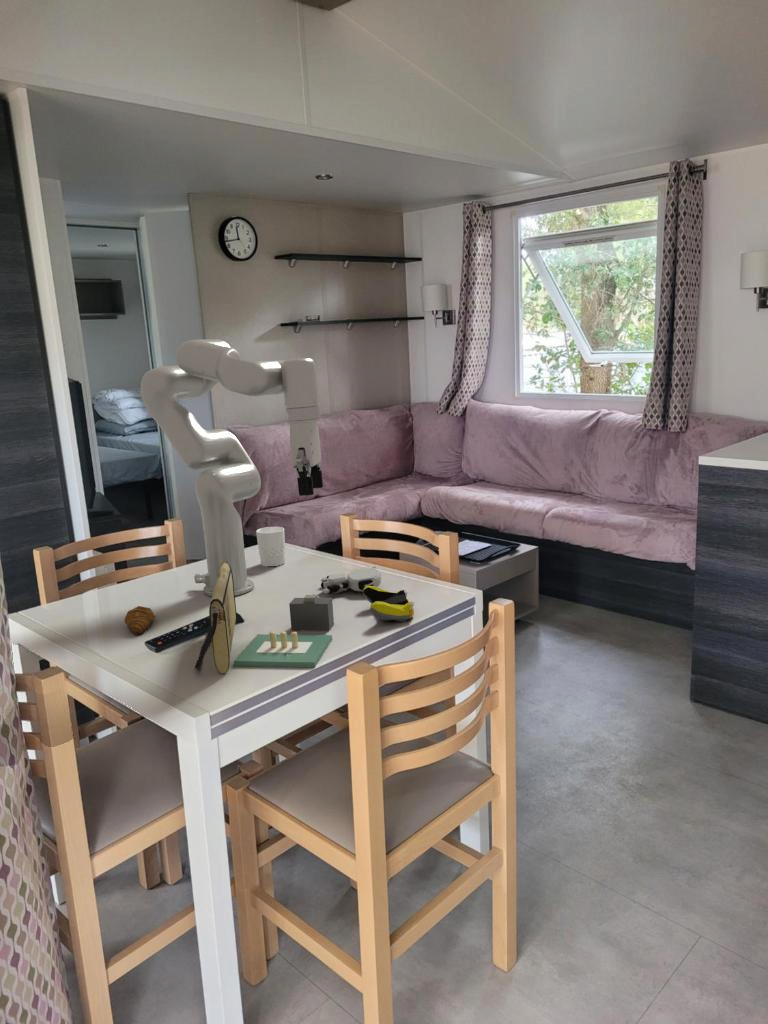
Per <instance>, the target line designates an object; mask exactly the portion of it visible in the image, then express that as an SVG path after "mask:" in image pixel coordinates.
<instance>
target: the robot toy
mask: <svg viewBox="0 0 768 1024" xmlns="http://www.w3.org/2000/svg"><path fill="white" fill-rule="evenodd" d="M320 581H321V583H320V587H321V589H322V590H321V593H323V594H329V595H331V594H333V595H334V594H336V593H337V594H340V593H342V592H346V591H348V589H349V588H350V589H351V590H353V591H355V592H361V593H363V589H364V588H365V587H366V586H375V587H378V588H379V587H380V585H381V583H382V575H381V572H380V571H379V570H378V569H377V566H376V565H374V566H372V567H368V566H367V567H364V568H363V567H362V568H357V569H353V570H351V571H350V572H349V573H348V574H347V575H346V573H338V574H337V573H336V574H331V575H327V576H326V577H322V578H321V579H320Z"/></svg>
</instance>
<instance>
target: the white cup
mask: <svg viewBox="0 0 768 1024" xmlns="http://www.w3.org/2000/svg"><path fill="white" fill-rule="evenodd" d="M255 533H256V541H257V547H258V555H259V558H260V565H261V566H262V565H263V566H262V567H264V566H276V567H279V566H278V565H280V566H282V565H281V564H283V565H284V564H286V540H285V528H284V527H282V526H267V527H261V528H258V529H257V530H256V531H255Z"/></svg>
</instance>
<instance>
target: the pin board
mask: <svg viewBox="0 0 768 1024" xmlns="http://www.w3.org/2000/svg"><path fill="white" fill-rule="evenodd" d="M276 633H277V632H276V631H270V632H269V634H267V633H266V634H264V633H263V634H261V633H257V634H256V635H255V637H254V638H253V639H252V640H251V641H250V642H249V643H248V644H247V646H246V647H244V649H242V651H241V652H240V653H239V654H238V655H237V657H235V659H234V660H233V666H234V667H271V668H272V667H274V668H275V667H276V668H277V667H278V668H279V667H281V668H282V667H283V668H316V666H318V663H319V662H320V660H321V658H322V657H323V655H324V654H325V652H326V651H325V650H327V649H328V647H329V646H330V644H331V643H330V642H332V641H333V635H332V634H298V631H292V632H290V634H287V631H281V632H280V633H279V634H276ZM331 640H332V641H331ZM329 643H330V644H329ZM328 645H329V646H328ZM323 653H324V654H323Z"/></svg>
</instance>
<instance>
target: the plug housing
mask: <svg viewBox="0 0 768 1024" xmlns="http://www.w3.org/2000/svg"><path fill="white" fill-rule="evenodd" d="M333 603H334V602H333V597H318V595H317V594H306V595H305V596H304V597H294V598H293V599H292V600H291V601H290V602H289V604H288V605H289V614H290V615H289V617H290V628H291V629H290V630H291V631H294V632H298V631H301V630H319V632H322V630H323V632H325V631H326V632H330V631H331V629H332V628H333V626H334V624H335V618H334V608H333V607H334V606H333ZM324 630H325V631H324ZM329 630H330V631H329ZM301 632H302V631H301Z"/></svg>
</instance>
